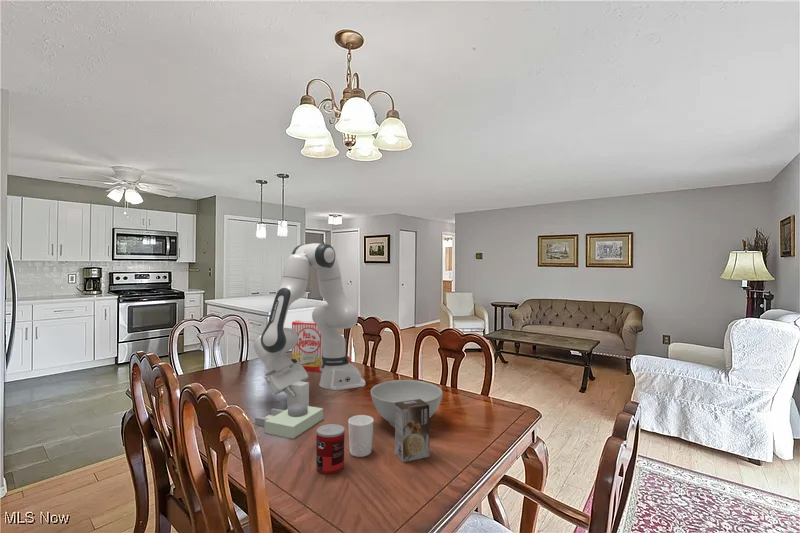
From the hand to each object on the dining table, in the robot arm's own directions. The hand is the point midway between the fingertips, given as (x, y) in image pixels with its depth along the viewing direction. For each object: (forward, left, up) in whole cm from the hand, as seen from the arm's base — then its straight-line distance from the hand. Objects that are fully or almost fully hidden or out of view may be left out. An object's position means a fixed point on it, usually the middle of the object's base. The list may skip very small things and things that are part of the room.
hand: (299, 394), depth 156 cm
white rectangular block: (+1, 0, -5) cm, 5 cm away
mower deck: (+5, +15, -5) cm, 17 cm away
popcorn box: (-6, -57, -6) cm, 57 cm away
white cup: (-18, +43, -6) cm, 47 cm away
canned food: (-8, +50, -6) cm, 51 cm away
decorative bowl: (-38, +25, -6) cm, 46 cm away
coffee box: (-33, +49, -6) cm, 59 cm away
